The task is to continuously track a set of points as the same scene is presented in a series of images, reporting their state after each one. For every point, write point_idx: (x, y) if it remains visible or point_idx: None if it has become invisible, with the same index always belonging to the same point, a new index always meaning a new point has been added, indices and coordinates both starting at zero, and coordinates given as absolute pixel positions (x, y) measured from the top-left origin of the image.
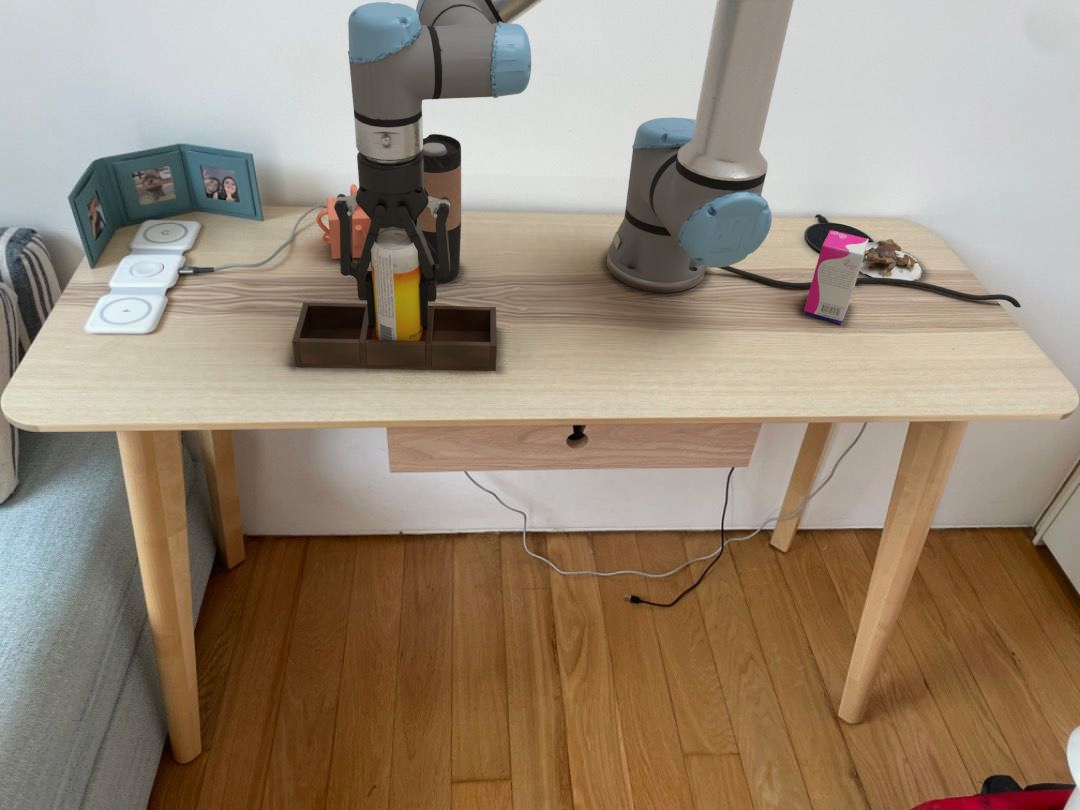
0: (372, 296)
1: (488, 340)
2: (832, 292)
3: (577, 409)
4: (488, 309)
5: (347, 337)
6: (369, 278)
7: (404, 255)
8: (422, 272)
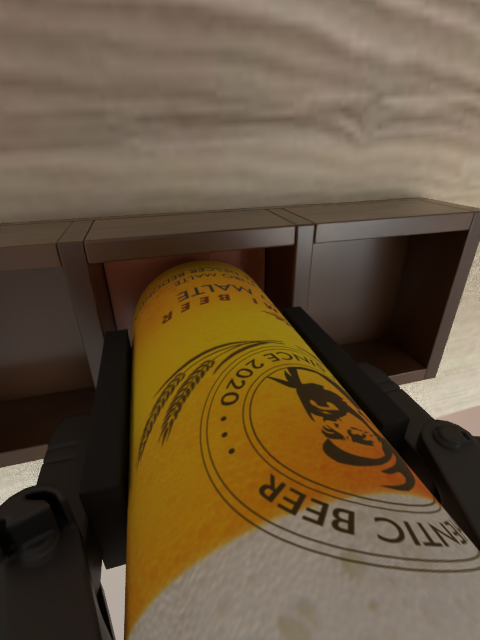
0: None
1: (402, 255)
2: None
3: (475, 400)
4: (466, 229)
5: (30, 294)
6: (118, 542)
7: None
8: (388, 425)
